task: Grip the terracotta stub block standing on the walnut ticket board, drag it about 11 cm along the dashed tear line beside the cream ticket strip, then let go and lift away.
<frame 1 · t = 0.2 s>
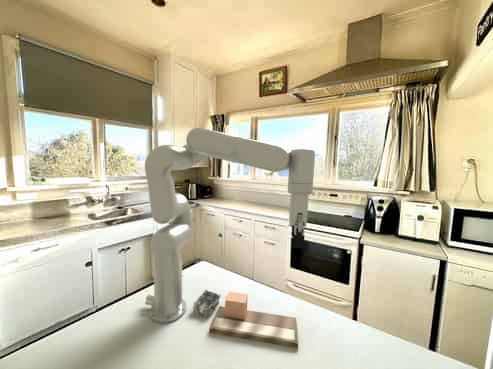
hand: (297, 241, 68), 31 cm above the countertop, tool pointing down, fingers open, 9 cm apart
ticket board: (254, 326, 72), on the countertop
egg carton: (206, 308, 81), on the countertop
stub: (236, 305, 76), point 5 cm above the countertop, slide at 0.0 cm
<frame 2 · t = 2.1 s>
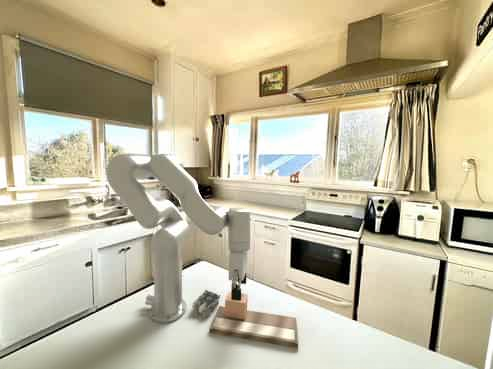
hand: (239, 291, 75), 10 cm above the countertop, tool pointing down, fingers open, 9 cm apart
nothing on the countertop moved.
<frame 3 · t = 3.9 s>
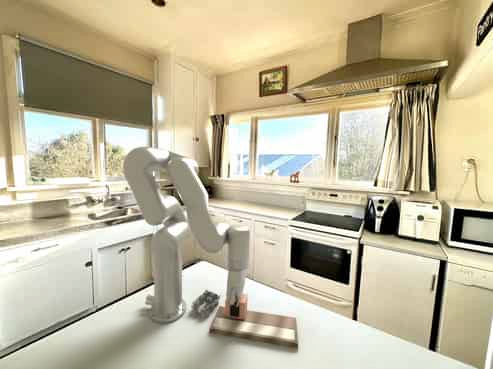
hand: (236, 309, 76), 3 cm above the countertop, tool pointing down, fingers closed on stub, 5 cm apart
stub: (236, 305, 76), point 5 cm above the countertop, slide at 0.0 cm, touching gripper
everything else where it was.
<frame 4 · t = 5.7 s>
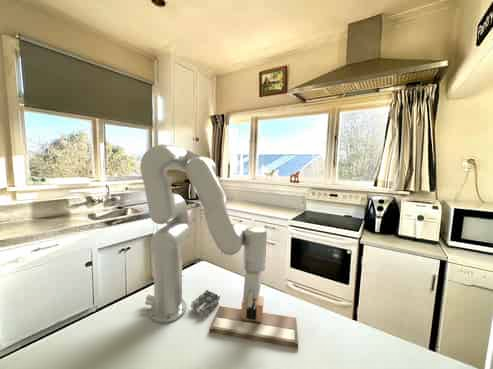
hand: (252, 312, 75), 3 cm above the countertop, tool pointing down, fingers closed on stub, 5 cm apart
stub: (252, 307, 75), point 5 cm above the countertop, slide at 5.8 cm, touching gripper
everything else where it was.
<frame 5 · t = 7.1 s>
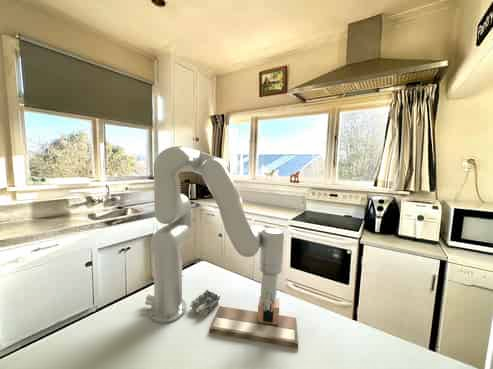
hand: (268, 314, 74), 3 cm above the countertop, tool pointing down, fingers closed on stub, 5 cm apart
stub: (268, 309, 74), point 5 cm above the countertop, slide at 11.4 cm, touching gripper
everything else where it was.
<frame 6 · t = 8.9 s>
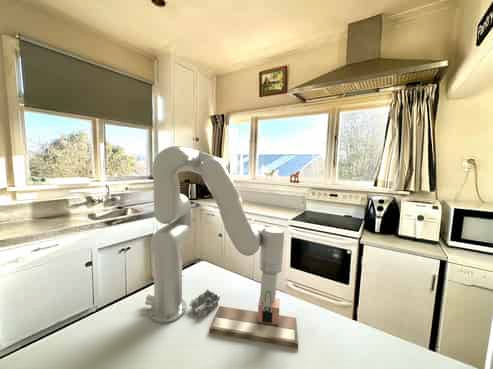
hand: (268, 311, 74), 4 cm above the countertop, tool pointing down, fingers open, 9 cm apart
stub: (268, 309, 74), point 5 cm above the countertop, slide at 11.5 cm
everything else where it was.
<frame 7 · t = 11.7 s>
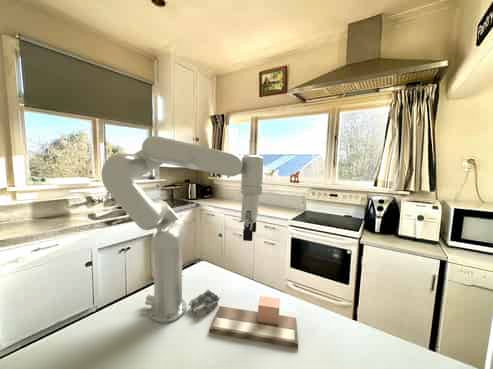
hand: (249, 235, 78), 28 cm above the countertop, tool pointing down, fingers open, 9 cm apart
at the end: stub slide at 11.5 cm; the gripper is holding nothing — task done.
